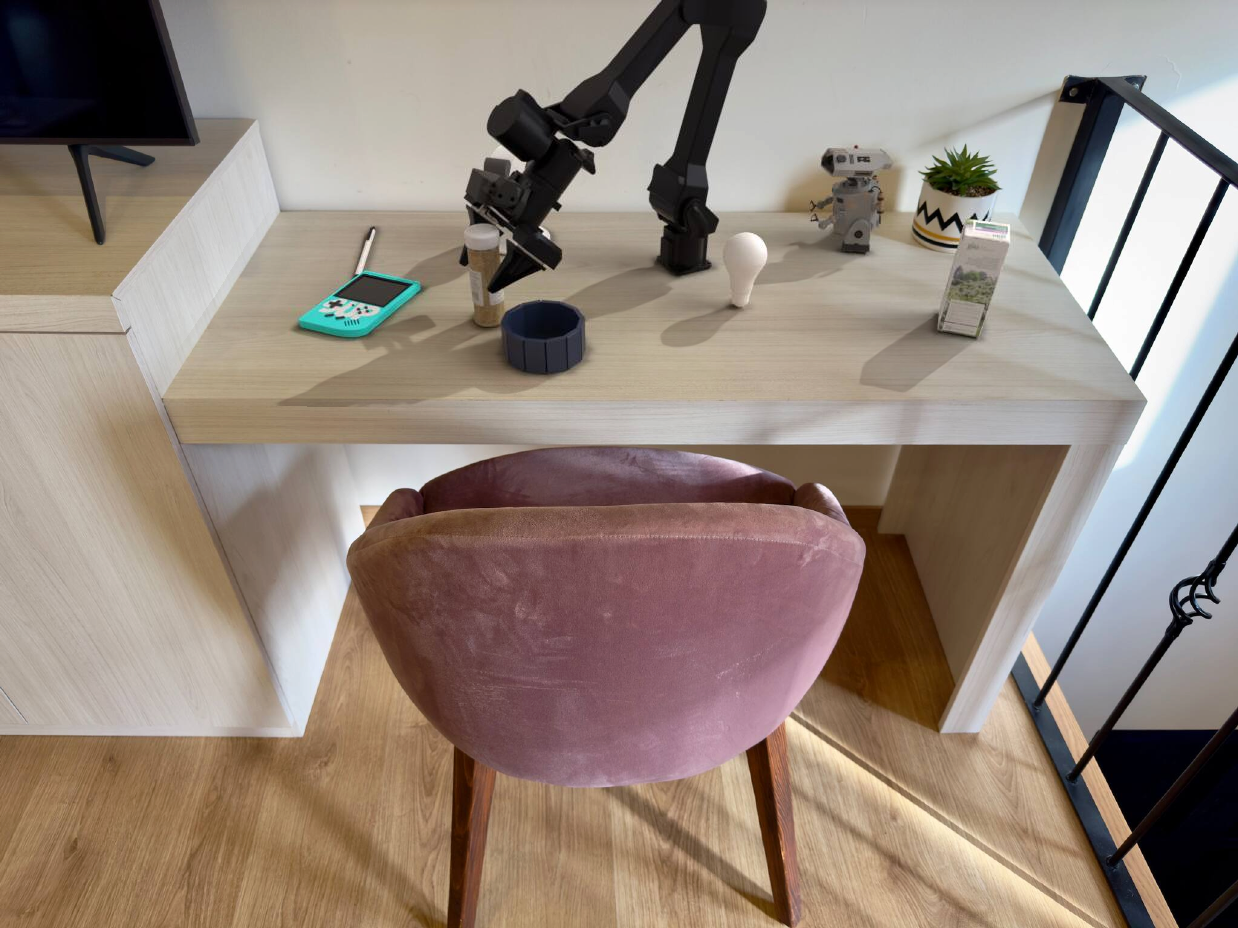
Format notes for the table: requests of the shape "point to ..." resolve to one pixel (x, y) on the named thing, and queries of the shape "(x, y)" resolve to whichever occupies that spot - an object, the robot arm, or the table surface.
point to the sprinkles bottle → (484, 273)
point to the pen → (365, 251)
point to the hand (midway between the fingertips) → (475, 278)
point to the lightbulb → (743, 264)
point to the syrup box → (973, 277)
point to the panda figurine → (504, 166)
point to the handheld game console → (360, 305)
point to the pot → (543, 336)
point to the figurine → (854, 194)
